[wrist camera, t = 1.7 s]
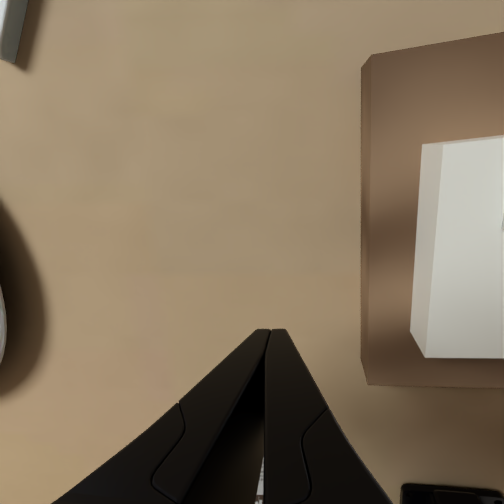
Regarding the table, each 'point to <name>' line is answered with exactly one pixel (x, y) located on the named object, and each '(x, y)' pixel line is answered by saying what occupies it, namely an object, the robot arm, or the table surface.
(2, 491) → the table surface
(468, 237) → the white panel with tab
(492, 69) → the brown flat block
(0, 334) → the ceramic plate
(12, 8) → the external hard drive
